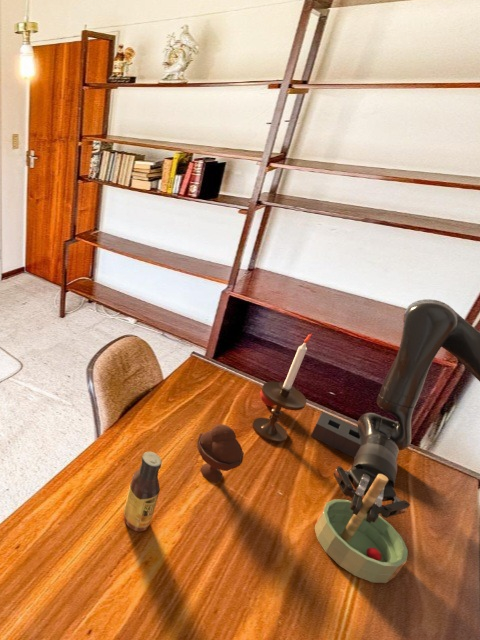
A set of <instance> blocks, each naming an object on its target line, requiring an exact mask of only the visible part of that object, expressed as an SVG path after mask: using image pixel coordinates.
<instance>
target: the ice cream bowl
mask: <svg viewBox="0 0 480 640" xmlns="http://www.w3.org/2000/svg"><path fill="white" fill-rule="evenodd" d="M236 438H237V436H236V433H235V431H234V429H232V428H231V427H230V426H229V425H226V424H216V425H214V426H213V427H212V428H211V429H210V430H207V431H205V432H202V433H199V436H198V438H197V441H196V448H197V451H198V453H199V455H200V457H201V459H202V460H203V461H204V462H205V464H204V463H203V464H201V466H200V470H199V471H200V473H201V475H202V477H204V478H205V479H206V480H208V481H209V482H213V483H219V482H221V481H222V480H223V473H222V471H224V472H228V471H232V470H234V469H236V468H238V467H240V466H241V465H242V463H243V461H244V455H245V453H244V451H243V448H242V446H241V444H240V443H239V440H237V439H236Z"/></svg>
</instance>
